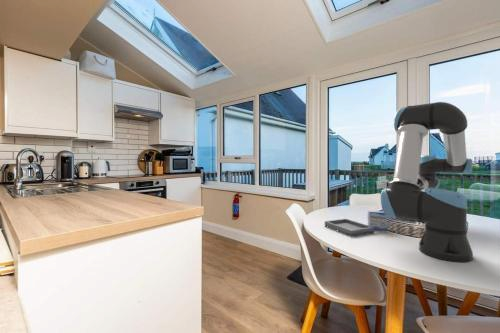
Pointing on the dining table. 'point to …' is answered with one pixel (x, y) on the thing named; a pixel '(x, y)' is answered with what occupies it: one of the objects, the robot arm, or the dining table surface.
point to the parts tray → (349, 227)
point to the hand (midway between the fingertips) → (389, 187)
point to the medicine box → (377, 220)
